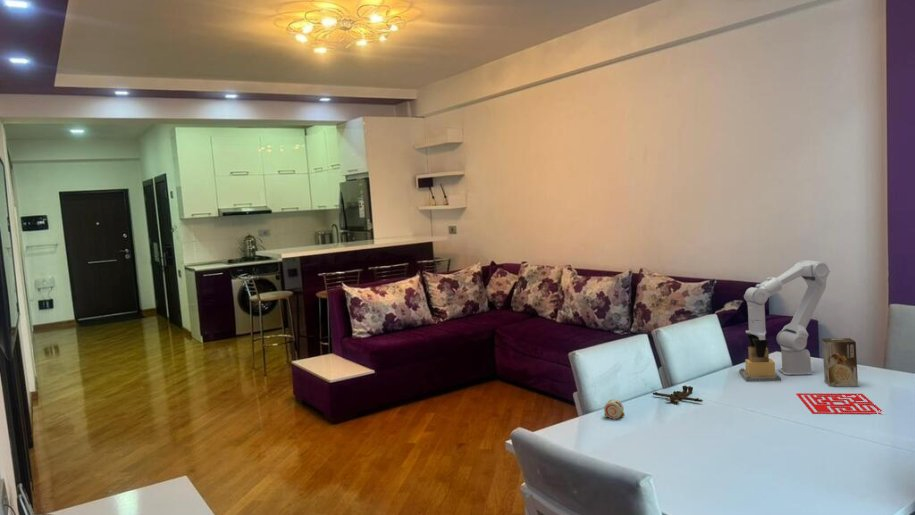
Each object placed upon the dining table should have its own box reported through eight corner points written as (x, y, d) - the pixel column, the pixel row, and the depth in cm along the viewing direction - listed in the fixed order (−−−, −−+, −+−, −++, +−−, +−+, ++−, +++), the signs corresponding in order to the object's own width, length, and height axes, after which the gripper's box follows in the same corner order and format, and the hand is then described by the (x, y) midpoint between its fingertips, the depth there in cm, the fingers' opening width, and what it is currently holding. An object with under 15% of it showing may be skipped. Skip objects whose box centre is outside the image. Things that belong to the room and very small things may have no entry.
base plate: (772, 372, 239) (772, 367, 239) (781, 380, 227) (781, 376, 227) (739, 372, 242) (738, 368, 242) (746, 381, 230) (746, 376, 230)
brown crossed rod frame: (713, 388, 217) (697, 396, 206) (713, 400, 217) (697, 408, 206) (664, 381, 229) (646, 388, 219) (664, 393, 229) (646, 400, 219)
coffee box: (852, 381, 220) (851, 337, 219) (858, 387, 214) (857, 341, 213) (823, 381, 223) (821, 338, 222) (828, 386, 217) (826, 342, 216)
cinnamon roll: (606, 414, 208) (605, 397, 207) (625, 415, 205) (624, 399, 204) (603, 418, 204) (602, 401, 203) (622, 420, 201) (621, 403, 201)
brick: (771, 371, 236) (770, 358, 236) (775, 375, 231) (774, 362, 230) (745, 371, 238) (745, 359, 238) (749, 375, 233) (748, 362, 232)
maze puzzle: (885, 416, 188) (885, 413, 188) (812, 415, 193) (812, 413, 193) (862, 395, 207) (862, 393, 207) (796, 395, 212) (796, 393, 212)
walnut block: (765, 359, 236) (765, 346, 235) (768, 362, 231) (768, 349, 231) (748, 359, 237) (748, 346, 237) (751, 362, 233) (751, 349, 232)
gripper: (740, 316, 241) (742, 350, 242) (749, 323, 227) (751, 359, 228) (760, 315, 239) (762, 349, 240) (770, 322, 225) (772, 359, 226)
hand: (758, 354), depth 234 cm, fingers open, 7 cm apart
